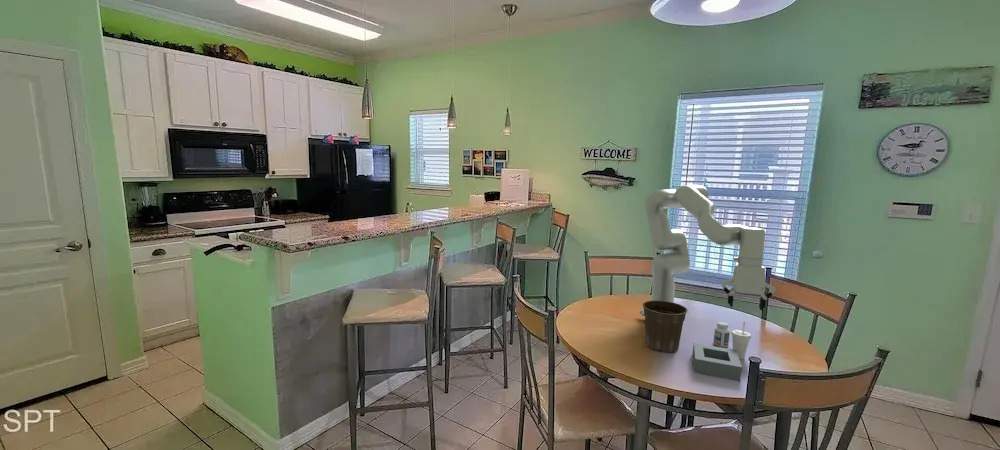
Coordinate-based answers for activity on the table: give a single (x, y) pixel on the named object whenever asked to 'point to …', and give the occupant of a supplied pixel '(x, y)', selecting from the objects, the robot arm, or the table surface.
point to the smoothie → (740, 341)
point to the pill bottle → (721, 334)
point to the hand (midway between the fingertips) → (745, 307)
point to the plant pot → (663, 324)
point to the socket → (716, 362)
